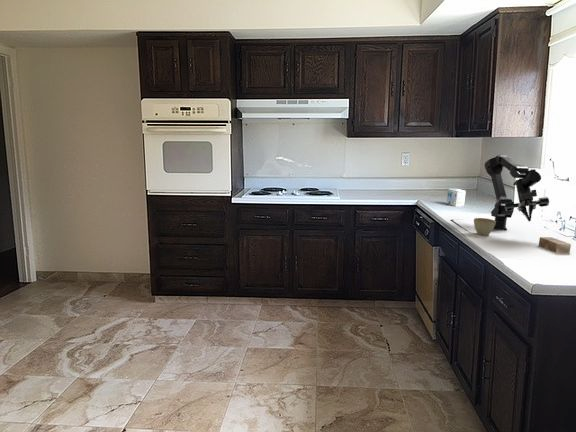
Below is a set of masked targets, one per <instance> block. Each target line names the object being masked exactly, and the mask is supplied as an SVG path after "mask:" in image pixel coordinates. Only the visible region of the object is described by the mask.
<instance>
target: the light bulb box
mask: <svg viewBox="0 0 576 432" xmlns="http://www.w3.org/2000/svg"><path fill="white" fill-rule="evenodd" d="M466 193H467V192H466V190H464V189H459V188H447V195H446V197H447V198H446V205H449V206H452V207H465V199H466Z"/></svg>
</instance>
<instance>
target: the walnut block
mask: <svg viewBox="0 0 576 432" xmlns="http://www.w3.org/2000/svg"><path fill="white" fill-rule="evenodd" d="M538 246H539V247H541V248H544V249H546V250H549V251H551V252H554V253H556V254H570V253H571V248H572V247H571V246H572V244H571V243H570V242H566V241H563V240H561V239H558V238H555V237H549V236H547V237H546V236H544V237H543V236H541V237H539V240H538Z"/></svg>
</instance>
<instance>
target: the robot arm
mask: <svg viewBox="0 0 576 432" xmlns="http://www.w3.org/2000/svg"><path fill="white" fill-rule="evenodd" d="M504 168H505V169H506V170H508V171H509V174H510V176H511V177H512V178H513V179H515V181H514V182H513V186H516V187H515V188H516V191H517V196H518V197H517V198H518V202H516V203H515V202H514V201H513V200H512V199H511V198H508V197H507V193H506V189H505V184H504V182H503V177H502V172H503V171H504V170H503V169H504ZM484 169H485V172H486V173H487V174H488V175H489V176H490V178H491V181H492V186H493V190H494V194H495V199H496V201H495V204H494V208H493V209H492V210H491V212H490V215H491V217H494V220H495V221H496V223H495V226H494V228H493V229H494V230H495V229H496V230H504V231H507V230H508V227H507V220H508V218H509V219H511V218H512V215H514V214H513V213H514V210H515V208H518V212H521V214H523V215H524V217H525V218H526V219H527V222H531V220H532V214H533V211H534V210H536V209H537V207H536V206H537V205H538V206H539V207H541V208H543V207H549V205H550V199H549V197H548V196H543V197H538V199H537V200H534V197H537V196H538V194H537V190H536V189H531V187H533V186H535V185H536V184H537V183H540V181H541V180H542V175H541V174H540V172H538V171H537V170H536V169H534V168H531V169H530V168H529V167H528V166H526V165H523V164H519V163H517V162H516V161H514V160H512V159H511V158H509V156H508V155H506V154H498V155H496V156H495V157H493V158H489V159H488V160H487V161H486V162H485V163H484ZM527 207H528V210H527Z"/></svg>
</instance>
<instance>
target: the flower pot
mask: <svg viewBox="0 0 576 432" xmlns="http://www.w3.org/2000/svg"><path fill="white" fill-rule="evenodd" d="M495 223H496V221H495V219H493V218H492V219H490V218H485V217H484V218H483V217H475V218H474V219H473V226H474V229H475V231H476V233H477V235H479V236H489V235H491V232H492V231H493V229H494V226H495Z"/></svg>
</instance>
